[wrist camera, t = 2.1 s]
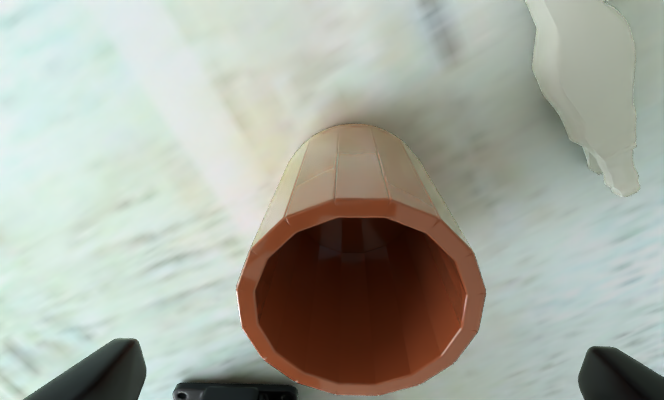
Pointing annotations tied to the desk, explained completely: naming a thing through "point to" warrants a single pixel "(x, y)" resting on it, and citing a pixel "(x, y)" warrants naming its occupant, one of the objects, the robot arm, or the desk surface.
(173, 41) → the desk surface
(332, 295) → the cup
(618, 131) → the white elongated piece
